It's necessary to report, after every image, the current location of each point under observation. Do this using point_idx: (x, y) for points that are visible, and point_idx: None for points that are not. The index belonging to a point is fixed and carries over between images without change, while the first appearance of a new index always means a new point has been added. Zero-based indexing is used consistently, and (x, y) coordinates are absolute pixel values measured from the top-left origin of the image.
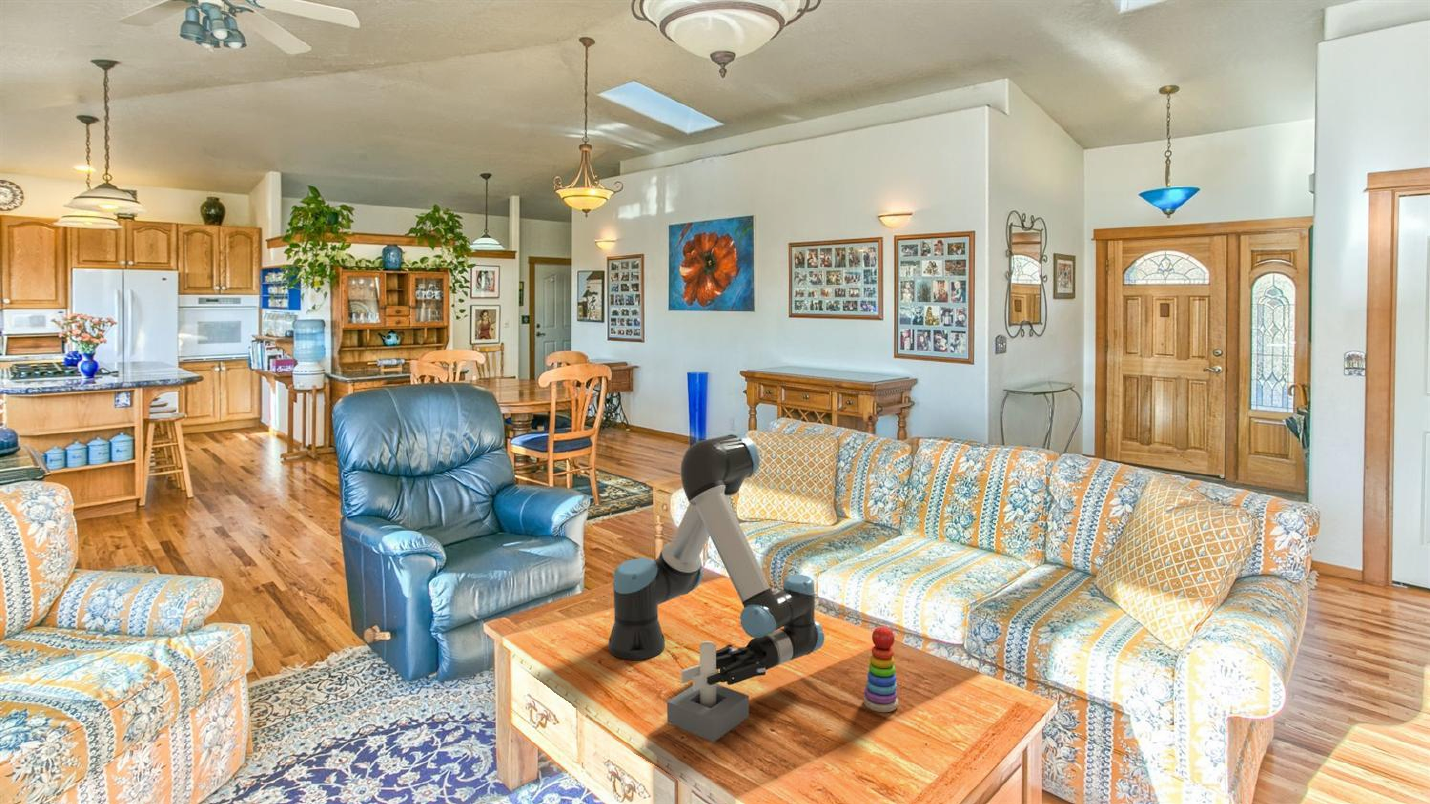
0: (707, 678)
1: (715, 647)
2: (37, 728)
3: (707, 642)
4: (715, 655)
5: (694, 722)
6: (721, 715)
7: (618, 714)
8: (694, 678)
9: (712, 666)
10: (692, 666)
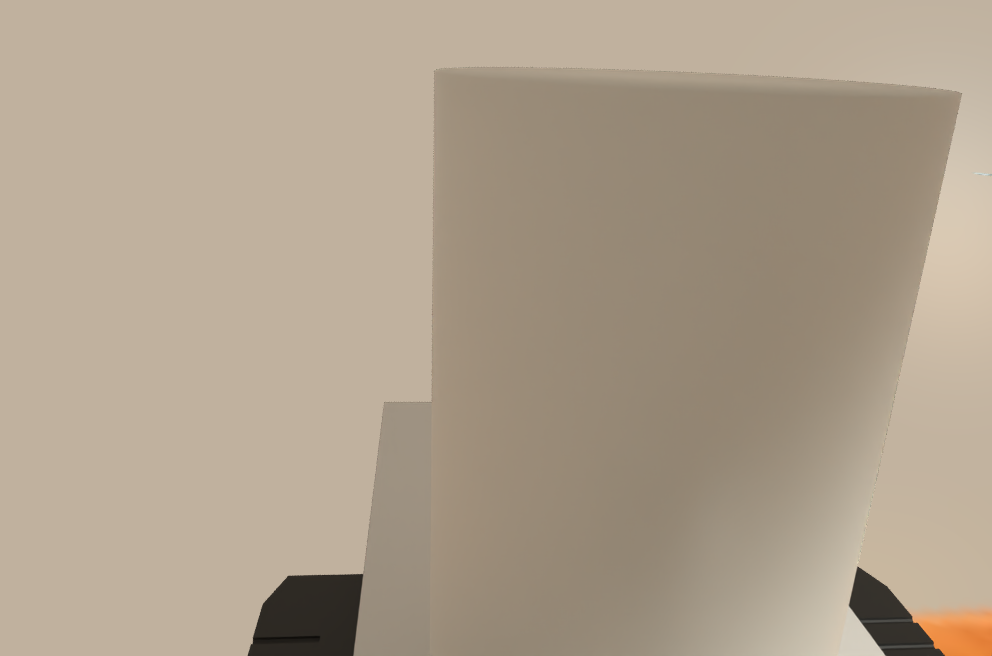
0: (360, 587)
1: (488, 111)
2: (983, 173)
3: (924, 91)
4: (475, 389)
5: None
6: None
7: (915, 620)
8: (398, 404)
9: (430, 557)
10: (876, 580)
